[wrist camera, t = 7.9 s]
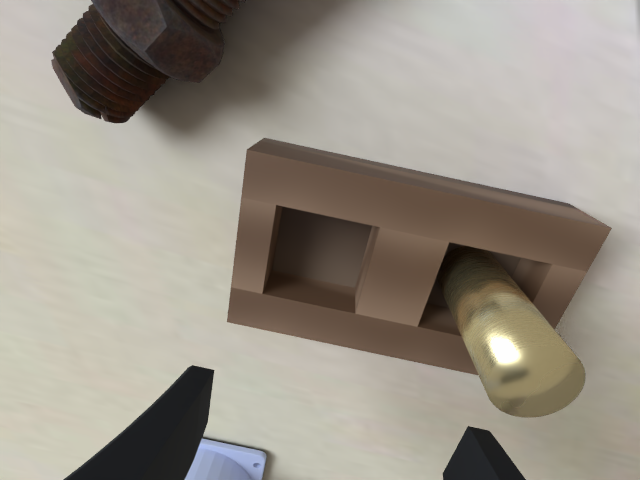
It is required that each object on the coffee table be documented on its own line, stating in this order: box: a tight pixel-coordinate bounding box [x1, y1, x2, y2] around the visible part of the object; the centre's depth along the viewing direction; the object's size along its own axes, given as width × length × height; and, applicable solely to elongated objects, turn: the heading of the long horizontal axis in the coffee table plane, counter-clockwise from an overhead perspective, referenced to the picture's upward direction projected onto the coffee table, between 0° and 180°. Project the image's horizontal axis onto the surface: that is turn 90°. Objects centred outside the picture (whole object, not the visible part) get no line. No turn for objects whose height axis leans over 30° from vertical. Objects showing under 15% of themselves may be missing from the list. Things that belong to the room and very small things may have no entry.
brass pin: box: [436, 246, 585, 417], centre depth 14 cm, size 3×3×7 cm
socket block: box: [227, 138, 612, 375], centre depth 17 cm, size 8×14×3 cm, turn 79°
